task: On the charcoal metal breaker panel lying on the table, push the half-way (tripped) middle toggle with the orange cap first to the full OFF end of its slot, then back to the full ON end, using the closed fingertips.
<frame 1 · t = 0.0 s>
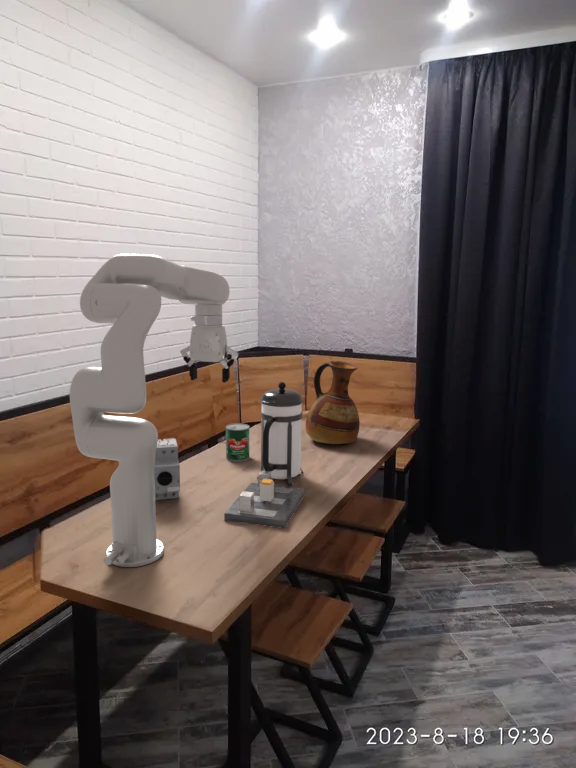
hand: (209, 380, 168), 31 cm above the table, tool pointing down, fingers open, 9 cm apart
panel: (266, 507, 158), on the table
coffee press: (280, 479, 179), on the table
tripped toggle: (266, 489, 157), point 5 cm above the table, slide at 0.0 cm
canned tomato: (237, 458, 197), on the table
ceramic pitcher: (331, 441, 217), on the table
circuit breaker: (165, 498, 163), on the table
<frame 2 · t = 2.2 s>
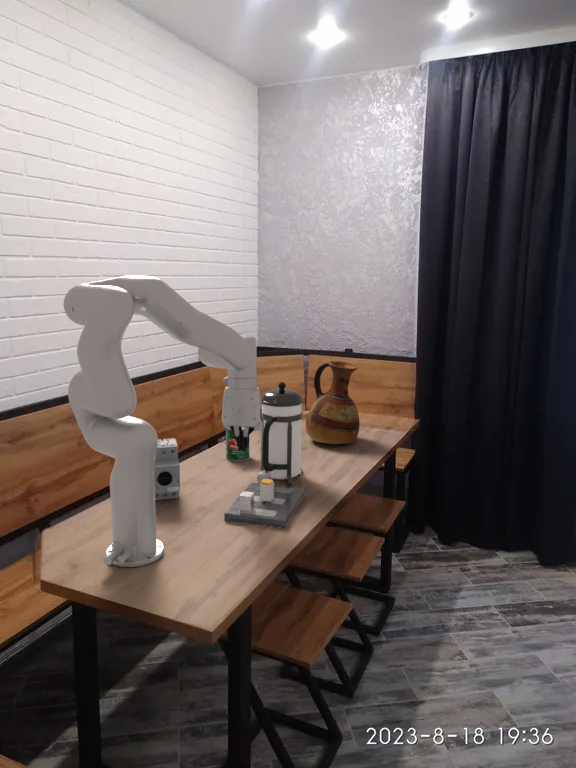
hand: (243, 449, 157), 16 cm above the table, tool pointing down, fingers closed
nothing on the table moved.
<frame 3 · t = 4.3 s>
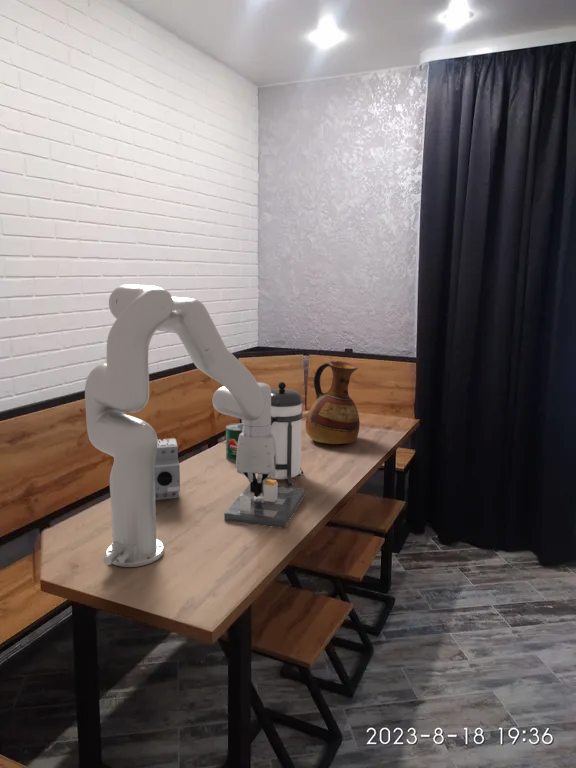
hand: (256, 494, 158), 3 cm above the table, tool pointing down, fingers closed
tripped toggle: (270, 490, 157), point 5 cm above the table, slide at -1.1 cm, touching gripper
everything else where it was.
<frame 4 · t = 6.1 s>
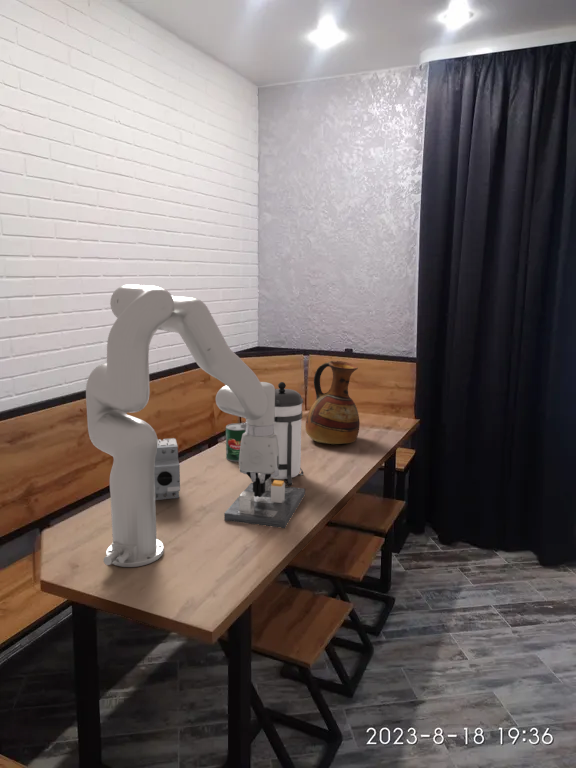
hand: (259, 494, 158), 3 cm above the table, tool pointing down, fingers closed
tripped toggle: (277, 491, 156), point 5 cm above the table, slide at -3.1 cm
everything else where it was.
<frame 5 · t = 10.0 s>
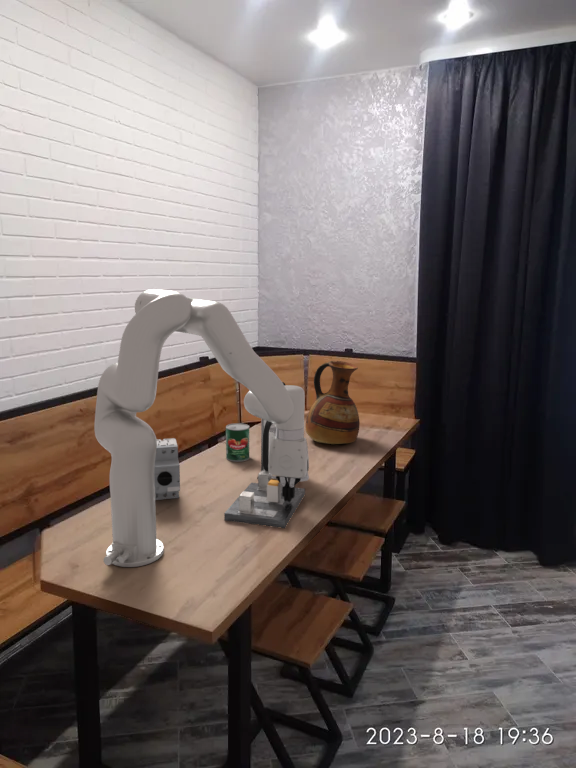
hand: (288, 499, 156), 3 cm above the table, tool pointing down, fingers closed
tripped toggle: (273, 490, 157), point 5 cm above the table, slide at -1.9 cm, touching gripper
everything else where it was.
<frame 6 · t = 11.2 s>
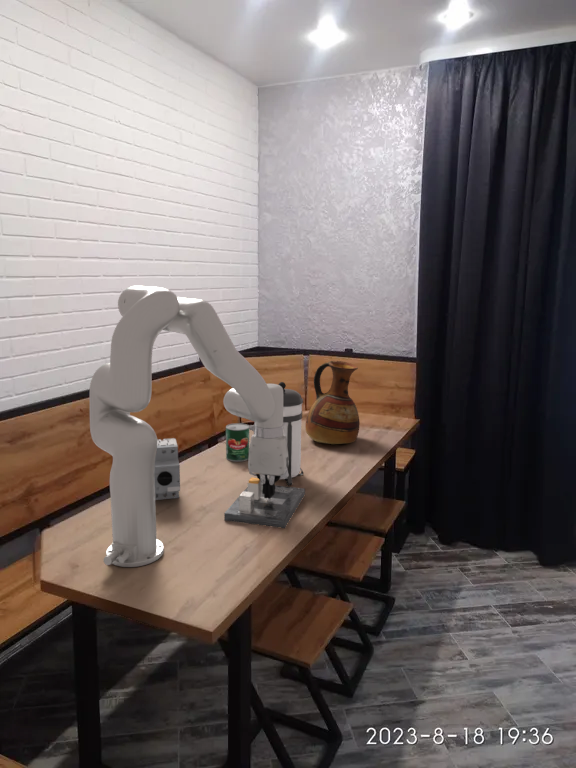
hand: (268, 496, 157), 3 cm above the table, tool pointing down, fingers closed
tripped toggle: (254, 488, 158), point 5 cm above the table, slide at 3.5 cm, touching gripper
everything else where it was.
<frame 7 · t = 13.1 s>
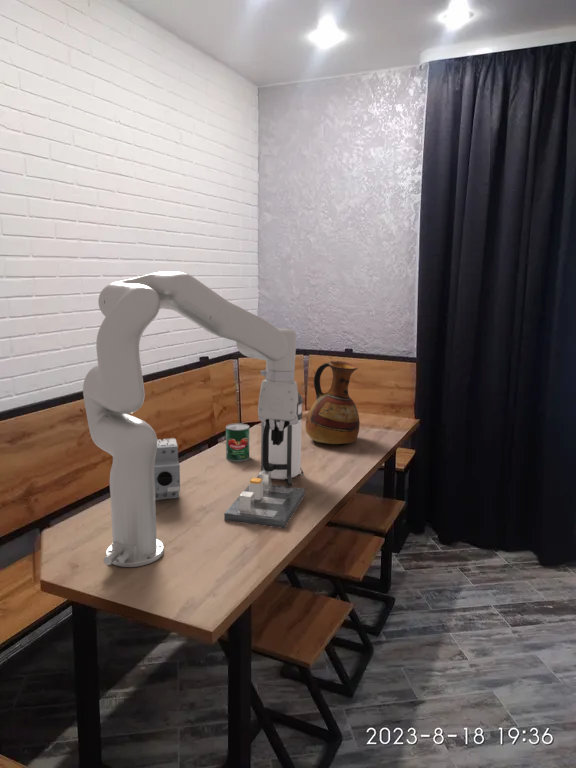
hand: (277, 443, 156), 17 cm above the table, tool pointing down, fingers closed
tripped toggle: (256, 488, 158), point 5 cm above the table, slide at 3.1 cm
everything else where it was.
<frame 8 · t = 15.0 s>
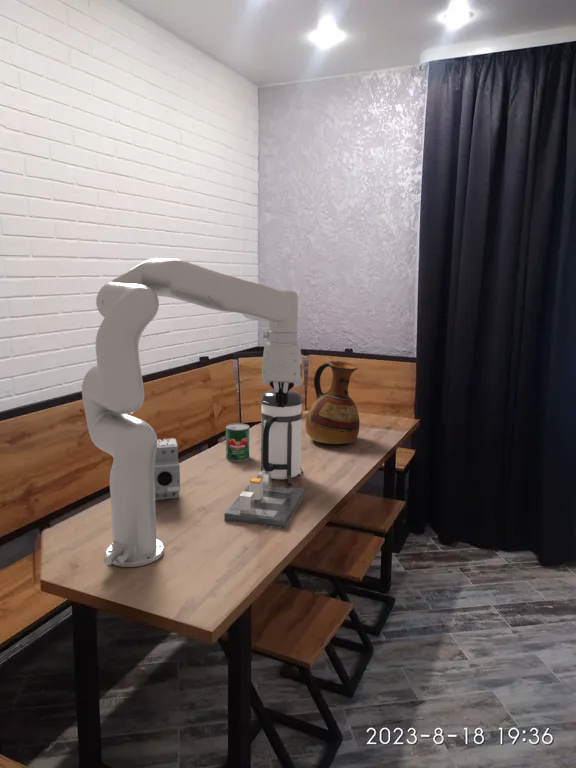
hand: (281, 406, 157), 27 cm above the table, tool pointing down, fingers closed
nothing on the table moved.
at the end: tripped toggle slide at 3.1 cm; tripped toggle touching nothing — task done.
